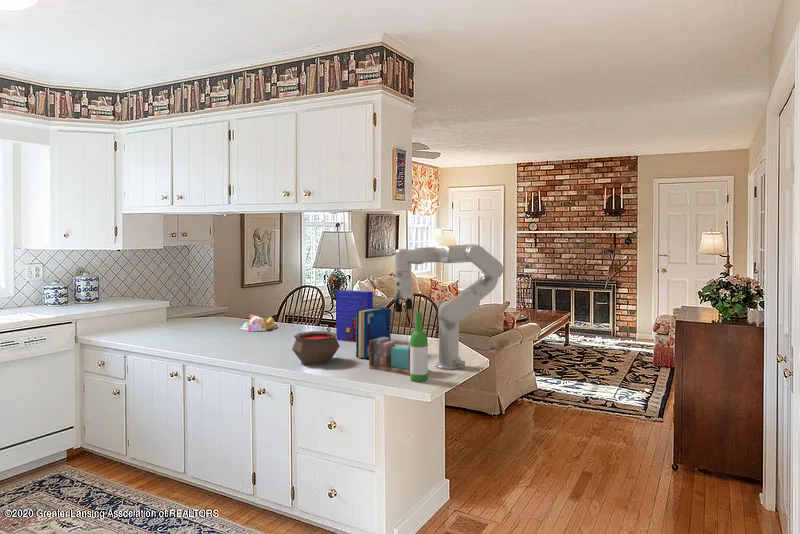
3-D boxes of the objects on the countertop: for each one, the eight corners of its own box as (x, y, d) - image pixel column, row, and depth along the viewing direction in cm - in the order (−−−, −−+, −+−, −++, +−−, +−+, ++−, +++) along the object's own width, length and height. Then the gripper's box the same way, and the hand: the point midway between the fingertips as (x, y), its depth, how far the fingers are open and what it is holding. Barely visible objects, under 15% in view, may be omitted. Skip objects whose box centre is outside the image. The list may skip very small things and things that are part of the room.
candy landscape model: (282, 326, 389) (282, 313, 388) (268, 332, 366) (267, 318, 365) (249, 325, 394) (249, 312, 393) (232, 331, 371) (232, 317, 370)
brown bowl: (312, 354, 301) (312, 324, 300) (349, 359, 289) (349, 327, 288) (281, 363, 280) (281, 331, 279) (320, 369, 268) (319, 335, 267)
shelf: (425, 370, 266) (424, 341, 265) (411, 375, 257) (410, 345, 256) (384, 363, 280) (383, 335, 279) (369, 368, 270) (368, 339, 269)
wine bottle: (429, 378, 252) (429, 311, 250) (426, 383, 244) (426, 314, 242) (412, 377, 253) (411, 311, 251) (408, 382, 246) (408, 313, 244)
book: (382, 350, 309) (382, 305, 307) (392, 352, 304) (392, 306, 303) (355, 357, 292) (354, 310, 290) (365, 359, 288) (364, 311, 286)
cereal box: (373, 341, 335) (372, 291, 332) (368, 343, 329) (367, 292, 327) (341, 338, 344) (341, 289, 342) (336, 340, 339) (335, 290, 337)
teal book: (415, 367, 265) (415, 348, 264) (410, 369, 261) (410, 350, 261) (396, 364, 271) (396, 346, 271) (391, 366, 267) (390, 347, 267)
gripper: (400, 276, 260) (401, 313, 261) (419, 273, 274) (419, 308, 276) (386, 276, 264) (387, 312, 265) (405, 273, 278) (406, 307, 279)
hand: (403, 310), depth 270 cm, fingers open, 9 cm apart
